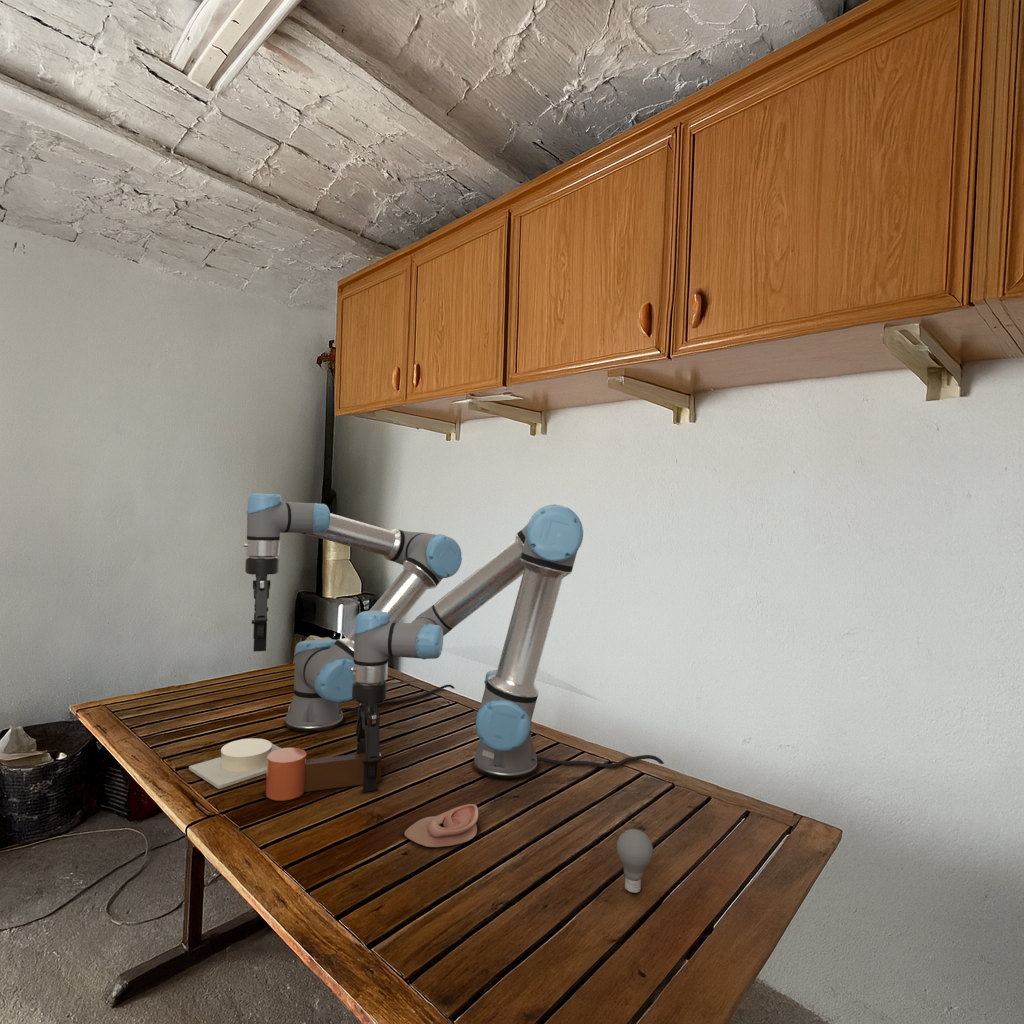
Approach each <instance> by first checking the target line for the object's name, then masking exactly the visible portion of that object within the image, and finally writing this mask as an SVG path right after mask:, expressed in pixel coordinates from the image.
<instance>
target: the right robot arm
mask: <svg viewBox="0 0 1024 1024" xmlns="http://www.w3.org/2000/svg"><path fill="white" fill-rule="evenodd" d="M583 528H584V527H583V523H582V521H581V519H580V517H579V516H578V515H577V514H576V512H575V511H573V510H572V509H571V508H570V507H568V506H564V505H562V504H561V505H560V504H549V505H545V506H542V507H540V508H539V509H538V510H536V511H535V512H534V513H533V514H532V516H531V518H530V519H529V520H528V523H526V525H525V526H524V527H522V529H520V530H519V531H518V532H517V533H515V538H514V541H512V542H510V543H509V544H508V545H507V546H505V548H503V549H502V550H500V551H499V552H498V553H497V554H495V555H494V556H493V557H492V558H490V559H489V560H488V561H486V563H484V564H483V565H482V566H480V567H479V568H478V569H476V570H475V571H473V572H472V574H470V575H469V576H468V577H466V578H465V579H464V580H462V581H461V582H460V583H459V584H457V585H456V586H454V588H452V589H451V590H450V591H448V592H447V593H446V594H445V595H443V596H442V597H441V598H440V599H438V600H437V601H436V602H435V603H433V604H432V605H431V606H430V607H428V608H427V609H425V610H424V611H423V612H421V613H419V614H418V616H416V617H415V619H413V620H412V621H411V622H400V623H397V622H390V615H389V614H388V613H387V612H382V611H369V610H365V611H361V612H360V613H358V614H357V615H356V617H355V625H354V628H355V632H354V667H351V671H352V672H353V680H354V683H353V684H352V698H353V699H352V700H353V701H354V702H357V708H358V711H357V715H356V716H357V718H356V730H355V736H356V742H357V743H356V754H362V753H365V758H366V759H365V760H362V763H364V777H363V785H362V792H363V793H367V792H368V793H369V792H375V791H377V783H376V781H377V762H379V761H380V754H381V752H380V751H381V750H380V749H381V748H380V747H381V746H380V745H381V744H380V743H381V742H380V724H381V723H380V722H381V715H380V708H379V707H378V706H377V705H376V704H377V703H380V702H384V700H385V699H386V698H387V691H388V683H387V680H388V672H389V657H395V658H396V657H397V658H409V659H421V660H435V659H439V658H440V657H441V655H442V652H443V646H444V637H445V636H446V635H447V634H448V633H449V632H451V631H452V630H453V629H454V628H456V627H457V626H458V625H459V624H461V623H462V622H463V621H465V620H466V619H468V617H470V616H471V615H472V614H474V613H475V612H476V611H477V610H479V609H480V608H481V607H483V606H484V605H485V604H486V603H488V602H489V601H491V600H492V599H493V598H494V597H496V596H497V595H498V594H499V593H501V592H502V591H504V590H505V589H506V588H507V587H508V586H510V585H511V584H513V582H515V581H516V580H517V579H519V578H520V577H521V576H522V577H521V581H520V584H519V588H518V591H517V595H516V598H515V602H514V606H513V610H512V612H511V613H512V614H511V617H510V621H509V625H508V629H507V633H506V636H505V639H504V643H503V647H502V651H501V653H500V654H501V655H500V658H499V661H498V665H497V669H493V670H489V671H487V672H486V674H485V680H484V682H483V683H484V691H483V695H482V698H481V702H480V706H479V709H478V711H477V713H476V716H475V721H474V723H475V731H476V734H477V736H478V739H479V743H478V745H477V749H476V751H475V753H474V759H473V762H474V763H473V766H474V767H473V768H475V770H476V771H477V772H479V773H480V774H481V775H484V776H486V777H490V778H493V779H498V780H499V779H500V780H515V779H516V780H518V779H523V778H526V777H529V776H531V775H533V774H535V773H536V771H537V769H538V762H540V763H547V764H553V765H560V766H574V765H575V766H590V767H597V768H604V769H611V768H612V769H613V768H618V767H621V766H623V765H624V764H626V763H628V762H634V761H640V760H654V761H656V762H657V763H659V764H660V765H664V764H665V763H664V760H662V759H661V758H660V757H658V756H656V755H653V754H642V755H636V756H629V757H626V758H623V759H620V761H618V762H614V763H604V762H603V763H602V762H596V761H588V760H559V759H558V760H557V759H552V758H546V757H539V756H537V753H536V749H535V745H534V741H533V737H532V723H533V722H532V719H533V715H534V711H535V708H536V704H537V701H538V696H539V689H538V688H537V686H536V684H535V681H536V678H537V674H538V670H539V667H540V663H541V659H542V657H543V652H544V648H545V645H546V641H547V637H548V635H549V634H548V633H549V630H550V626H551V623H552V619H553V615H554V611H555V608H556V605H557V601H558V597H559V594H560V589H561V586H562V582H563V580H564V578H566V577H568V576H569V575H571V574H572V572H573V568H574V565H575V561H576V558H577V553H578V551H579V549H580V547H581V545H582V543H583V539H584V529H583Z"/></svg>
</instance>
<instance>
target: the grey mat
mask: <svg viewBox="0 0 1024 1024" xmlns="http://www.w3.org/2000/svg"><path fill="white" fill-rule="evenodd" d="M282 748H283V747H282ZM282 748H281V747H280V746H278V745H276V744H274V743H272V751H274V750H278V749H282ZM220 761H221V756H219V757H216V758H212V759H209V760H204V761H202V762H198V763H196V764H191V765H189V766H188V770H189V771H190V772H191V773H193V774H194V775H197V776H198V777H199V778H201V779H202V780H204V781H205V782H208V783H209V784H210V785H212V786H213V787H214V788H216V789H218V790H221V789H224V788H226V787H230V786H232V785H236V784H238V783H239V784H240V783H242V782H245V781H248V780H251V779H254V778H257V777H259V776H264V775H266V768H267V766H265V767H263V768H261V769H258V770H254V771H248V772H230V771H226V770H224V769H222V768H221V766H220Z"/></svg>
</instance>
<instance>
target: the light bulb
mask: <svg viewBox="0 0 1024 1024" xmlns="http://www.w3.org/2000/svg"><path fill="white" fill-rule="evenodd" d="M615 849H616V854H617V857H618V859H619V861H620V863H621V865H622V867H623V873H624V874H623V875H624V876H625V878H624V888H625V890H627V891H628V892H630V893H634V894H635V893H639V892H640V891H641V889H642V887H641V886H642V879H643V877H644V875H645V871H646V868H647V867H648V866H649V864H650V863H651V861H652V859H653V855H654V847H653V843H652V841H651V838H649V836H648V835H647V834H646V833H645V832H643V831H642V830H641V829H636V828H629V829H627V830H625V831H623V832H622V833H621V834H620V835H619V837H618V839H617V841H616V847H615Z"/></svg>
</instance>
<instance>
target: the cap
mask: <svg viewBox="0 0 1024 1024" xmlns="http://www.w3.org/2000/svg"><path fill="white" fill-rule="evenodd" d="M272 744H273V743H272V742H271V741H269V740H267V739H264V738H241V739H237V740H233V741H230V742H227V743H226V744H224V745H223V746H222V747H221V749H220V757H221V761H220V766H221V768H222V769H224V770H226V771H230V772H248V771H254V770H258V769H261V768H263V767H265V766H267V755H268V754H269V753H270V752H272Z"/></svg>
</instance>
